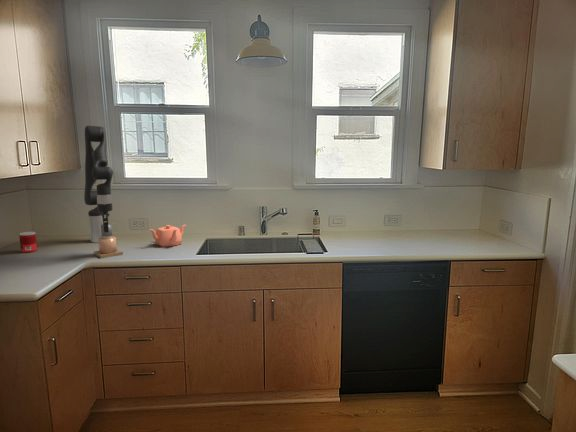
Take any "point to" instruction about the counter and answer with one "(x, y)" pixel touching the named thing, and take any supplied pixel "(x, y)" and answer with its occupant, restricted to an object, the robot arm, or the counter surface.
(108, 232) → the cap
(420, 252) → the counter surface
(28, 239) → the canned food
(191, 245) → the counter surface
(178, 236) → the pot
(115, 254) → the canister
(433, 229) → the counter surface
